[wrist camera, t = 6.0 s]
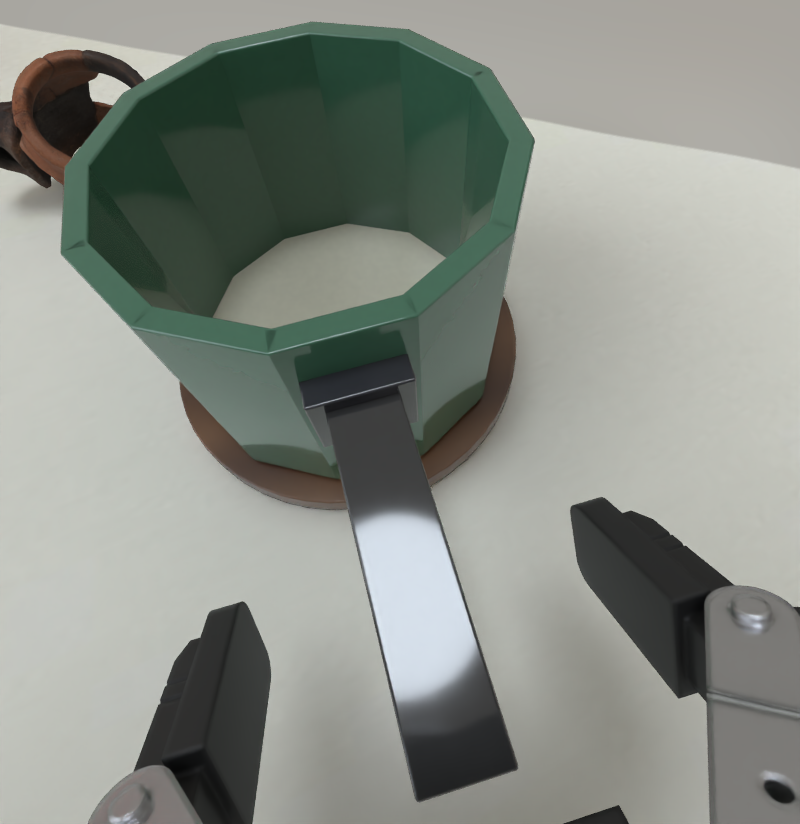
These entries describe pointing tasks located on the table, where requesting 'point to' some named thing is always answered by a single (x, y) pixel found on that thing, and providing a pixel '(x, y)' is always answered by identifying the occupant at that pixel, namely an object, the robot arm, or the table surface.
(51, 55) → the brown ring-shaped piece
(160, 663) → the table surface
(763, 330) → the table surface
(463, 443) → the disc
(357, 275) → the pot
